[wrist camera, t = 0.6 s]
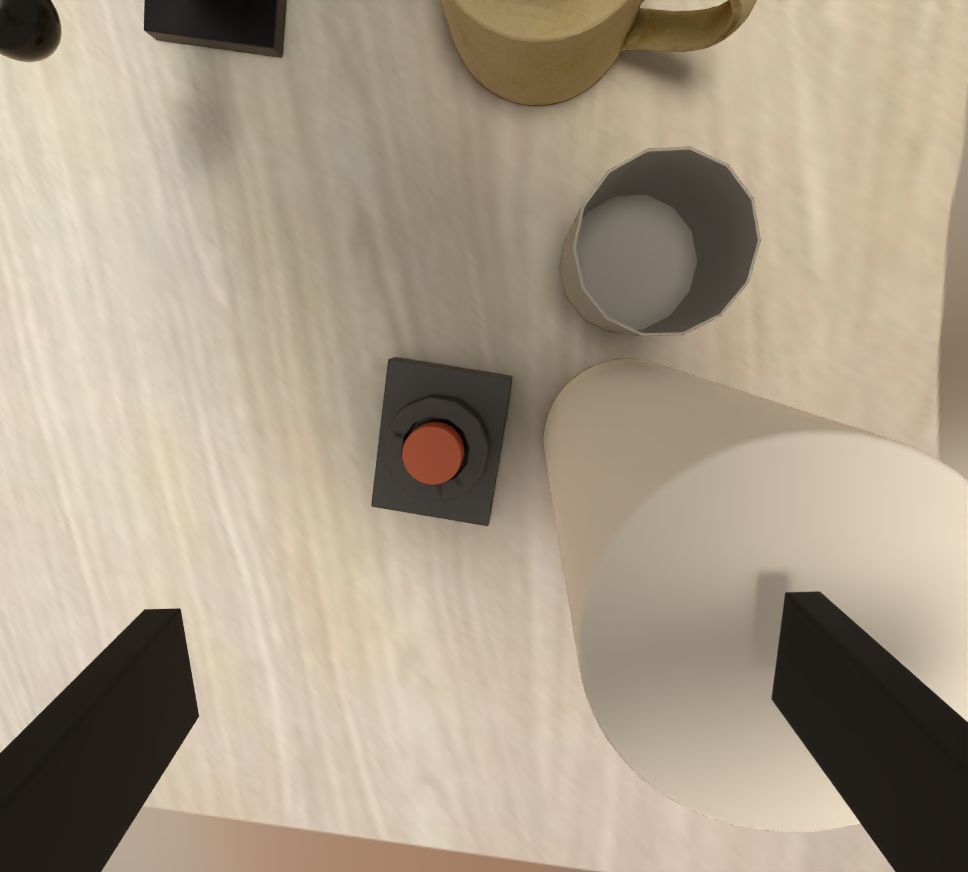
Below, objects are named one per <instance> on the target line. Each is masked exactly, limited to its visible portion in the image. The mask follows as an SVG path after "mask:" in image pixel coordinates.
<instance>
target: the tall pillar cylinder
mask: <svg viewBox="0 0 968 872" xmlns="http://www.w3.org/2000/svg"><path fill="white" fill-rule="evenodd" d="M544 451H545V458H546V464H547V470H548V477H549V483H550V489H551V495H552V502H553V508H554V514H555V520H556V526H557V533H558V539H559V545H560V551H561V557H562V564H563V570H564V576H565V582H566V588H567V595H568V601H569V607H570V613H571V619H572V626H573V632H574V638H575V644H576V650H577V657H578V663H579V669H580V674H581V679H582V683H583V687H584V691H585V694H586V697H587V700H588V702H589V705H590V708H591V710H592V712H593V715H594V717H595V719H596V721H597V723H598V725H599V727H600V728H601V730H602V732H603V733H604V735H605V737H606V738H607V740H608V741H609V743H610V744H611V746H612V747H613V748H614V750H615V751H616V752H617V753H618V755H619V756H620V757H621V758H622V759H623V760H624V762H625V763H626V764H627V765H628V766H629V767H630V768H631V769H632V770H633V771H634V772H635V773H636V774H637V775H638V776H640V777H641V778H642V779H643V780H644V781H645V782H647V783H648V784H649V785H650V786H652V787H653V788H654V789H656V790H657V791H659V792H660V793H661V794H663V795H665V796H666V797H668V798H669V799H671V800H673V801H674V802H676V803H678V804H680V805H682V806H684V807H686V808H688V809H690V810H692V811H694V812H696V813H699V814H701V815H703V816H706V817H709V818H712V819H715V820H717V821H721V822H724V823H728V824H732V825H736V826H740V827H745V828H750V829H757V830H764V831H775V832H812V831H823V830H831V829H837V828H843V827H848V826H852V825H856V824H860V822H859V820H858V819H857V818H856V816H855V815H854V813H853V812H852V811H851V809H850V808H849V806H848V805H847V804H846V802H845V801H844V800H843V798H842V797H841V795H840V794H839V793H838V791H837V790H836V788H835V787H834V786H833V784H832V783H831V781H830V780H829V779H828V777H827V776H826V775H825V773H824V772H823V770H822V769H821V768H820V766H819V765H818V763H817V762H816V761H815V759H814V758H813V756H812V755H811V754H810V752H809V751H808V750H807V748H806V747H805V745H804V744H803V743H802V741H801V740H800V738H799V737H798V736H797V734H796V733H795V731H794V730H793V729H792V727H791V726H790V725H789V723H788V722H787V720H786V719H785V718H784V716H783V715H782V713H781V712H780V711H779V709H778V708H777V707H776V705H775V704H774V702H773V701H772V700H771V698H772V690H773V682H774V675H775V667H776V659H777V651H778V644H779V636H780V628H781V621H782V613H783V605H784V597H785V592H813V591H820V592H821V593H822V594H823V595H825V596H826V597H827V598H828V599H829V600H830V601H831V602H833V603H834V604H835V605H836V606H837V607H838V608H839V609H840V610H842V611H843V612H844V613H845V614H846V615H847V616H848V617H849V618H851V619H852V620H853V621H854V622H855V623H856V624H857V625H859V626H860V627H861V628H862V629H863V630H864V631H865V632H866V633H868V634H869V635H870V636H871V637H872V638H873V639H874V640H875V641H877V642H878V643H879V644H880V645H881V646H882V647H883V648H885V649H886V650H887V651H888V652H889V653H890V654H891V655H892V656H894V657H895V658H896V659H897V660H898V661H899V662H900V663H901V664H903V665H904V666H905V667H906V668H907V669H908V670H909V671H911V672H912V673H913V674H914V675H915V676H916V677H917V678H918V679H920V680H921V681H922V682H923V683H924V684H925V685H926V686H927V687H929V688H930V689H931V690H932V691H933V692H934V693H935V694H937V695H938V696H939V697H940V698H941V699H942V700H943V701H944V702H946V703H947V704H948V705H949V706H950V707H951V708H952V709H954V710H955V711H956V712H957V713H958V714H959V715H960V716H961V717H963V718H964V719H965V720H966V721H967V722H968V480H967V479H966V478H965V477H963V476H962V475H961V474H959V473H958V472H956V471H955V470H954V469H952V468H951V467H949V466H948V465H946V464H944V463H943V462H941V461H939V460H938V459H936V458H934V457H932V456H930V455H929V454H926V453H924V452H922V451H920V450H918V449H916V448H913V447H911V446H908V445H906V444H903V443H901V442H898V441H895V440H892V439H889V438H885V437H882V436H879V435H876V434H873V433H870V432H867V431H864V430H861V429H857V428H854V427H851V426H848V425H845V424H842V423H839V422H836V421H833V420H830V419H826V418H823V417H820V416H817V415H814V414H811V413H808V412H805V411H802V410H799V409H795V408H792V407H789V406H786V405H783V404H780V403H777V402H774V401H771V400H767V399H764V398H761V397H758V396H755V395H752V394H749V393H746V392H743V391H740V390H736V389H733V388H730V387H727V386H724V385H721V384H718V383H715V382H712V381H708V380H705V379H702V378H699V377H696V376H693V375H690V374H687V373H684V372H681V371H677V370H674V369H671V368H668V367H665V366H662V365H659V364H656V363H652V362H649V361H644V360H638V359H618V360H612V361H607V362H604V363H601V364H598V365H595V366H593V367H591V368H589V369H587V370H585V371H583V372H582V373H580V374H579V375H577V376H576V377H575V378H574V379H572V380H571V381H570V382H569V383H568V384H567V385H566V386H565V387H564V388H563V389H562V391H561V392H560V393H559V395H558V396H557V398H556V399H555V401H554V403H553V405H552V407H551V409H550V411H549V414H548V417H547V420H546V424H545V430H544Z"/></svg>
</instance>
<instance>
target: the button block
mask: <svg viewBox="0 0 968 872" xmlns="http://www.w3.org/2000/svg"><path fill="white" fill-rule="evenodd" d="M511 383H512V376H508V375H502V374H495V373H489V372H483V371H476V370H470V369H464V368H458V367H451V366H445V365H439V364H432V363H426V362H420V361H413V360H407V359H401V358H392V359H389V360H388V366H387V375H386V384H385V392H384V401H383V409H382V418H381V427H380V435H379V444H378V452H377V461H376V470H375V478H374V487H373V495H372V504H371V506H372V507H378V508H384V509H389V510H395V511H401V512H407V513H413V514H419V515H425V516H431V517H437V518H443V519H449V520H455V521H461V522H467V523H473V524H479V525H484V526H488V525H489V519H490V513H491V507H492V501H493V495H494V488H495V482H496V476H497V470H498V464H499V457H500V451H501V445H502V439H503V433H504V427H505V420H506V414H507V408H508V402H509V396H510V389H511ZM435 421H436V422H443V423H446V424H448V425H450V426H451V427H453V428H454V429H455V430H456V431H457V432H458V433H459V435H460V436H461V438H462V440H463V443H464V457H463V460H462V463H461V465H460V467H459V469H458V471H457V473H456V474H455V475H454V476H453V477H452V478H451V479H449V480H448V481H446V482H444V483H441V484H434V485H431V484H425V483H422V482H420V481H418V480H416V479H415V478H413V477H412V476H411V475H410V474H409V473H408V471H407V470H406V468H405V466H404V463H403V459H402V450H403V446H404V443H405V441H406V439H407V438H408V437H409V435H410V434H411V433H412V432H413V431H414V430H415V429H416V428H418V427H419V426H421V425H422V424H425V423H428V422H435Z"/></svg>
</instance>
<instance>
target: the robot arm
mask: <svg viewBox="0 0 968 872" xmlns="http://www.w3.org/2000/svg"><path fill="white" fill-rule="evenodd" d="M771 700H772V701H773V702H774V704H775V705H776V707H777V708H778V709H779V711H780V712H781V713H782V715H783V716H784V718H785V719H786V720H787V722H788V723H789V725H790V726H791V727H792V729H793V730H794V731H795V733H796V734H797V736H798V737H799V738H800V740H801V741H802V743H803V744H804V745H805V747H806V748H807V750H808V751H809V752H810V754H811V755H812V756H813V758H814V759H815V761H816V762H817V763H818V765H819V766H820V768H821V769H822V770H823V772H824V773H825V775H826V776H827V777H828V779H829V780H830V781H831V783H832V784H833V786H834V787H835V788H836V790H837V791H838V793H839V794H840V795H841V797H842V798H843V800H844V801H845V802H846V804H847V805H848V806H849V808H850V809H851V811H852V812H853V813H854V815H855V816H856V818H857V819H858V820H859V822H860V823H861V825H862V826H863V827H864V829H865V830H866V831H867V833H868V834H869V836H870V837H871V838H872V840H873V841H874V843H875V844H876V845H877V847H878V848H879V850H880V851H881V852H882V854H883V855H884V856H885V858H886V859H887V861H888V862H889V863H890V865H891V866H892V868H893V869H894V870H895V872H968V722H967V721H966V720H965V719H964V718H963V717H961V716H960V715H959V714H958V713H957V712H956V711H955V710H954V709H952V708H951V707H950V706H949V705H948V704H947V703H946V702H944V701H943V700H942V699H941V698H940V697H939V696H938V695H937V694H935V693H934V692H933V691H932V690H931V689H930V688H929V687H927V686H926V685H925V684H924V683H923V682H922V681H921V680H920V679H918V678H917V677H916V676H915V675H914V674H913V673H912V672H911V671H909V670H908V669H907V668H906V667H905V666H904V665H903V664H901V663H900V662H899V661H898V660H897V659H896V658H895V657H894V656H892V655H891V654H890V653H889V652H888V651H887V650H886V649H885V648H883V647H882V646H881V645H880V644H879V643H878V642H877V641H875V640H874V639H873V638H872V637H871V636H870V635H869V634H868V633H866V632H865V631H864V630H863V629H862V628H861V627H860V626H859V625H857V624H856V623H855V622H854V621H853V620H852V619H851V618H849V617H848V616H847V615H846V614H845V613H844V612H843V611H842V610H840V609H839V608H838V607H837V606H836V605H835V604H834V603H833V602H831V601H830V600H829V599H828V598H827V597H826V596H825V595H823V594H822V593H821V592H820V591H813V592H785V597H784V605H783V613H782V621H781V628H780V636H779V644H778V651H777V659H776V667H775V675H774V682H773V690H772V698H771ZM198 717H199V713H198V707H197V701H196V696H195V690H194V684H193V678H192V672H191V667H190V661H189V655H188V649H187V644H186V638H185V632H184V626H183V620H182V615H181V609H145V610H144V611H143V612H142V613H141V614H140V615H139V616H138V617H137V618H136V619H135V620H134V621H133V622H132V623H131V624H130V625H129V626H128V627H127V628H126V629H125V630H124V631H123V632H121V633H120V634H119V635H118V636H117V637H116V638H115V639H114V640H113V641H112V642H111V643H110V644H109V645H108V646H107V647H106V648H105V649H104V650H103V651H102V652H101V653H100V654H99V655H98V656H97V657H96V658H95V659H94V660H93V661H92V662H91V663H90V664H89V665H88V666H87V667H86V668H85V669H84V670H83V671H82V672H81V673H80V674H79V675H78V676H77V677H76V678H75V679H74V680H73V681H72V682H71V683H70V684H69V685H68V686H67V687H66V688H65V689H64V690H63V691H62V692H61V693H60V694H59V695H58V696H57V697H56V698H55V699H54V700H53V701H52V702H51V703H50V704H49V705H48V706H47V707H46V708H45V709H44V710H43V711H42V712H41V713H40V714H39V715H38V716H37V717H36V718H35V719H34V720H33V721H32V722H31V723H30V724H29V725H28V726H27V727H26V728H25V729H24V730H23V731H22V732H21V733H20V734H19V735H18V736H17V737H16V738H15V739H14V740H13V741H12V742H11V743H10V744H9V745H8V746H7V747H6V748H5V749H4V750H3V751H2V752H1V753H0V872H101V871H102V869H103V867H104V866H105V865H106V863H107V862H108V860H109V858H110V857H111V855H112V854H113V852H114V850H115V849H116V847H117V846H118V844H119V842H120V841H121V839H122V838H123V836H124V834H125V833H126V831H127V830H128V828H129V826H130V825H131V823H132V822H133V820H134V819H135V817H136V816H137V814H138V812H139V811H140V809H141V808H142V806H143V804H144V803H145V801H146V800H147V798H148V796H149V795H150V793H151V792H152V790H153V789H154V787H155V785H156V784H157V782H158V781H159V779H160V777H161V776H162V774H163V773H164V771H165V770H166V768H167V766H168V765H169V763H170V762H171V760H172V758H173V757H174V755H175V754H176V752H177V750H178V749H179V747H180V746H181V744H182V743H183V741H184V739H185V738H186V736H187V735H188V733H189V731H190V730H191V728H192V727H193V725H194V724H195V722H196V720H197V719H198Z"/></svg>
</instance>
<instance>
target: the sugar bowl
mask: <svg viewBox="0 0 968 872" xmlns="http://www.w3.org/2000/svg"><path fill="white" fill-rule="evenodd" d="M643 1H644V0H441V4H442V7H443V10H444V13H445V16H446V19H447V22H448V25H449V28H450V31H451V35H452V38H453V41H454V44H455V46H456V49H457V51H458V53H459V55H460V57H461V59H462V60H463V62H464V64H465V65H466V67H467V68H468V70H469V71H470V72H471V73H472V75H473V76H474V77H475V78H476V79H477V80H478V81H479V82H480V83H481V84H482V85H483V86H485V87H486V88H487V89H488V90H490V91H492V92H493V93H495V94H496V95H498V96H500V97H502V98H504V99H507V100H509V101H512V102H516V103H520V104H524V105H545V104H553V103H558V102H562V101H565V100H568V99H570V98H572V97H574V96H576V95H578V94H580V93H581V92H583V91H585V90H587V89H588V88H589V87H591V86H592V85H593V84H594V83H596V82H597V81H598V80H599V79H600V78H601V77H602V76H603V75H604V74H605V73H606V72H607V71H608V70H609V68H610V67H611V65H612V64H613V63H614V61H615V60H616V58H617V57H618V55H619V53H620V52H621V51H624V50H635V49H637V50H652V51H667V52H685V51H693V50H699V49H704V48H708V47H710V46H712V45H715V44H717V43H719V42H721V41H723V40H724V39H726V38H727V37H728V36H730V35H731V34H732V33H733V32H735V31H736V30H737V29H738V28H739V27H740V26H741V24H742V23H743V22H744V21H745V20H746V19H747V17H748V16H749V14H750V13H751V11H752V9H753V7H754V5H755V3H756V1H757V0H728V1H727V2H725V3H723V4H721V5H719V6H716V7H711V8H709V9H703V10H695V11H665V10H654V9H642V8H640V5H641V3H642V2H643Z"/></svg>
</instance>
